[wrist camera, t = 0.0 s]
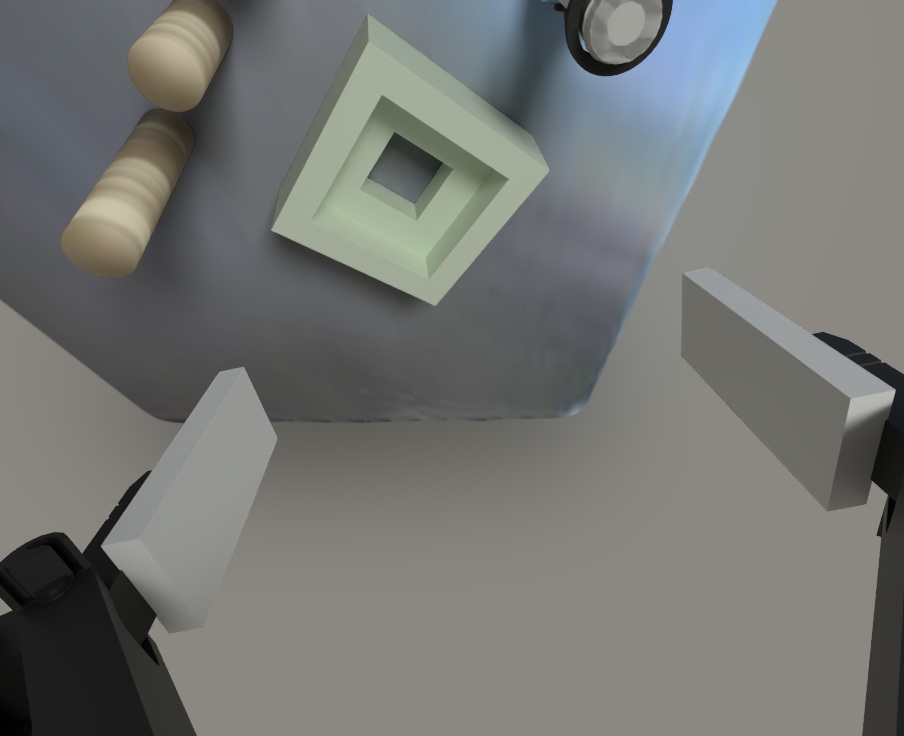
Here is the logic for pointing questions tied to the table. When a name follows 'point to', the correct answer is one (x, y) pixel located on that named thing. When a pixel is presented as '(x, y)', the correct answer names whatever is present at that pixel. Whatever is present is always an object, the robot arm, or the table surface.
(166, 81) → the medium birch dowel
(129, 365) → the table surface
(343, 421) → the table surface
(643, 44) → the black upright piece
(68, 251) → the long birch dowel
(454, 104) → the sage socket block
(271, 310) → the table surface
